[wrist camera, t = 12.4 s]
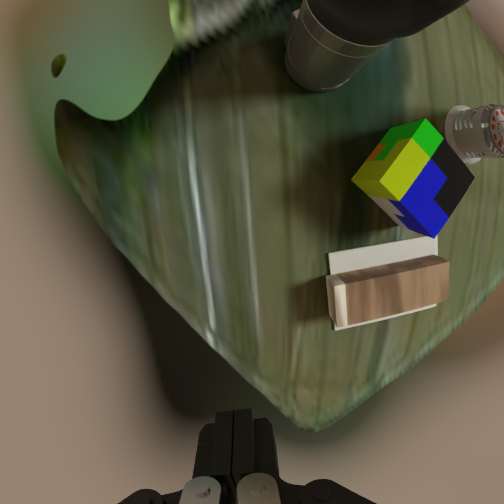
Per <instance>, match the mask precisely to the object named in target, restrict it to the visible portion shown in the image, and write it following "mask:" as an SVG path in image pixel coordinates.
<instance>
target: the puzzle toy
mask: <svg viewBox="0 0 504 504" xmlns="http://www.w3.org/2000/svg"><path fill="white" fill-rule="evenodd" d="M474 178H475V177H474V176H473V174H472V173H471V172H470V170H469V169H468V168H467V166H466V165H465V164H464V163H463V161H462V160H461V159H460V158H459V156H458V155H457V154H456V153H455V151H454V150H453V149H452V148H451V146H450V145H449V144H448V143H447V142H446V141H445V139H444V138H443V137H442V136H441V135H440V134H439V132H438V131H437V130H436V129H435V128H434V127H433V126H432V125H431V123H430V122H429V121H428V120H427V119H426V118H424V119H420V120H417V121H413V122H410V123H406V124H403V125H399V126H396V127H393V128H390V129H389V131H388V132H387V133H386V135H385V136H384V137H383V139H382V140H381V141H380V143H379V144H378V145H377V147H376V148H375V149H374V150H373V152H372V153H371V154H370V156H369V157H368V158H367V159H366V161H365V162H364V163H363V165H362V166H361V167H360V168H359V170H358V171H357V172H356V174H355V175H354V176H353V177H352V179H351V180H352V181H353V182H354V183H355V184H356V185H357V186H358V187H359V188H360V189H361V190H362V191H364V192H365V193H366V194H367V195H368V196H369V197H370V198H371V199H372V200H373V201H374V202H375V203H376V204H377V205H378V206H379V207H380V208H381V209H382V210H383V211H384V212H386V213H387V214H388V215H389V216H390V217H391V218H392V219H393V220H394V221H395V222H396V223H397V224H398V225H399V226H401V227H404V228H407V229H409V230H412V231H415V232H417V233H420V234H423V235H425V236H428V237H431V238H433V239H434V238H435V237H436V236H437V234H438V233H439V231H440V230H441V229H442V227H443V226H444V224H445V223H446V221H447V220H448V218H449V217H450V215H451V214H452V212H453V211H454V209H455V208H456V206H457V205H458V203H459V202H460V200H461V199H462V197H463V196H464V194H465V192H466V191H467V189H468V188H469V186H470V184H471V183H472V181H473V179H474Z"/></svg>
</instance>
